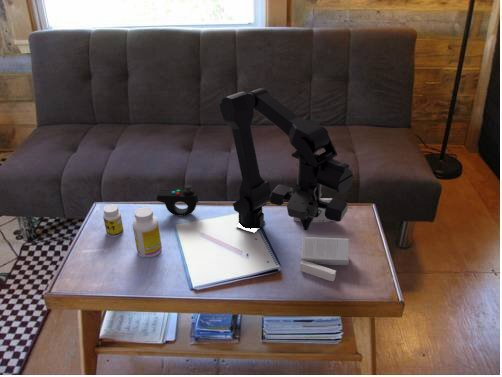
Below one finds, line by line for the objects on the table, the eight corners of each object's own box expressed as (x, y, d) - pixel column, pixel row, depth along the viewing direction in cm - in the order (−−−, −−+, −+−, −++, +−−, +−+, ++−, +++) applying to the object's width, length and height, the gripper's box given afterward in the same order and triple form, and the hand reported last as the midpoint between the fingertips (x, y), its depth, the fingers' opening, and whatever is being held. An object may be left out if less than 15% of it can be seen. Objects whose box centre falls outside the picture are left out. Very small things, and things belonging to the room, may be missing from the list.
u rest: (299, 270, 120) (300, 263, 119) (315, 246, 128) (316, 239, 127) (333, 281, 116) (334, 274, 115) (347, 256, 125) (348, 249, 123)
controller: (198, 218, 140) (196, 190, 135) (157, 218, 140) (154, 190, 135) (200, 210, 144) (198, 182, 138) (160, 210, 144) (156, 182, 138)
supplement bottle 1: (103, 235, 133) (98, 210, 129) (113, 225, 137) (108, 202, 132) (117, 238, 132) (112, 214, 127) (127, 229, 135) (122, 205, 131)
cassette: (333, 218, 139) (335, 197, 135) (334, 222, 138) (336, 200, 134) (293, 218, 140) (294, 197, 136) (293, 222, 138) (294, 200, 134)
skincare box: (301, 263, 123) (348, 266, 120) (300, 258, 119) (348, 261, 117) (303, 241, 125) (348, 244, 123) (302, 236, 121) (349, 238, 119)
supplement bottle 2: (166, 246, 128) (161, 208, 122) (152, 261, 123) (146, 221, 117) (146, 240, 131) (140, 202, 124) (132, 254, 126) (125, 215, 119)
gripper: (259, 183, 109) (259, 236, 117) (335, 203, 102) (330, 258, 110) (279, 163, 118) (278, 214, 126) (351, 180, 110) (345, 233, 118)
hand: (306, 229), depth 120 cm, fingers closed
